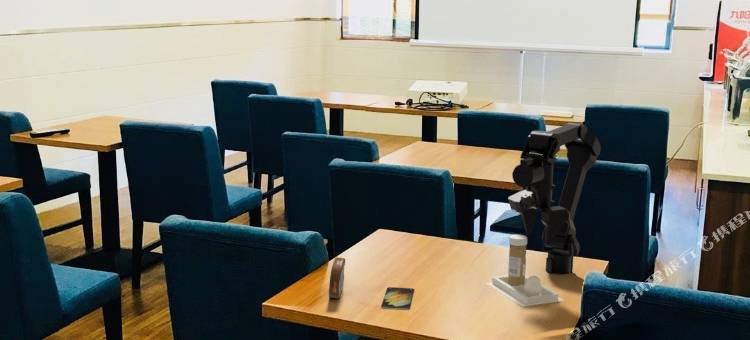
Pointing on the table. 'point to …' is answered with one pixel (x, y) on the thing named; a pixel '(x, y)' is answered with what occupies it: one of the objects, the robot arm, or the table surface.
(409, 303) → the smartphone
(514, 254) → the sprinkles bottle
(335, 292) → the tin
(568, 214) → the robot arm
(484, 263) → the table surface
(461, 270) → the table surface
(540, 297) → the tray
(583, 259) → the table surface
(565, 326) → the table surface
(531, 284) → the egg
